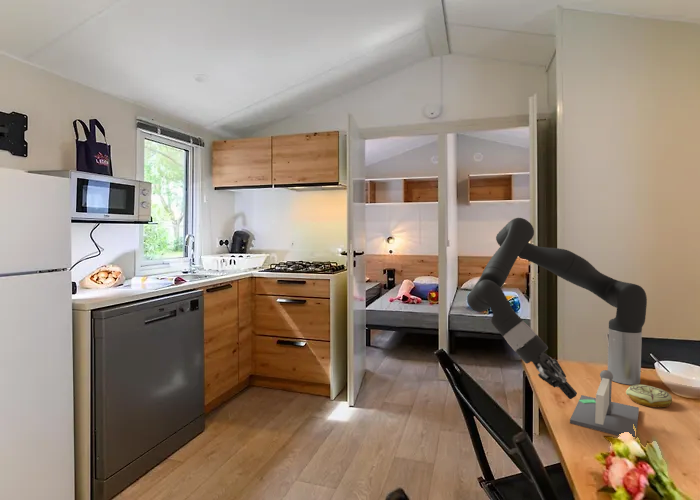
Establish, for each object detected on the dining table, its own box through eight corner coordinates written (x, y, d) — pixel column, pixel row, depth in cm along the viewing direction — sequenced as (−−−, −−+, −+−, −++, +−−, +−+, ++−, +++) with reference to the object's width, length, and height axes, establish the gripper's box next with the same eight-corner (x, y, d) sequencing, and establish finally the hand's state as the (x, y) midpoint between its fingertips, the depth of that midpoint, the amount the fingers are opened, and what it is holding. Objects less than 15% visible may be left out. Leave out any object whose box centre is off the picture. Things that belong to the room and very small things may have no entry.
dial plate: (581, 398, 119) (581, 394, 119) (638, 411, 111) (638, 406, 111) (569, 423, 104) (569, 418, 104) (635, 440, 95) (635, 435, 95)
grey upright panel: (602, 400, 115) (603, 361, 115) (614, 402, 113) (616, 363, 113) (591, 433, 96) (592, 386, 95) (606, 437, 94) (607, 389, 94)
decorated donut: (618, 397, 120) (618, 385, 120) (642, 392, 124) (642, 380, 124) (655, 412, 111) (655, 398, 111) (679, 406, 115) (680, 393, 114)
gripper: (521, 344, 116) (566, 396, 109) (507, 355, 106) (557, 413, 99) (541, 329, 113) (589, 381, 106) (529, 338, 102) (582, 397, 95)
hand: (573, 396), depth 102 cm, fingers closed
